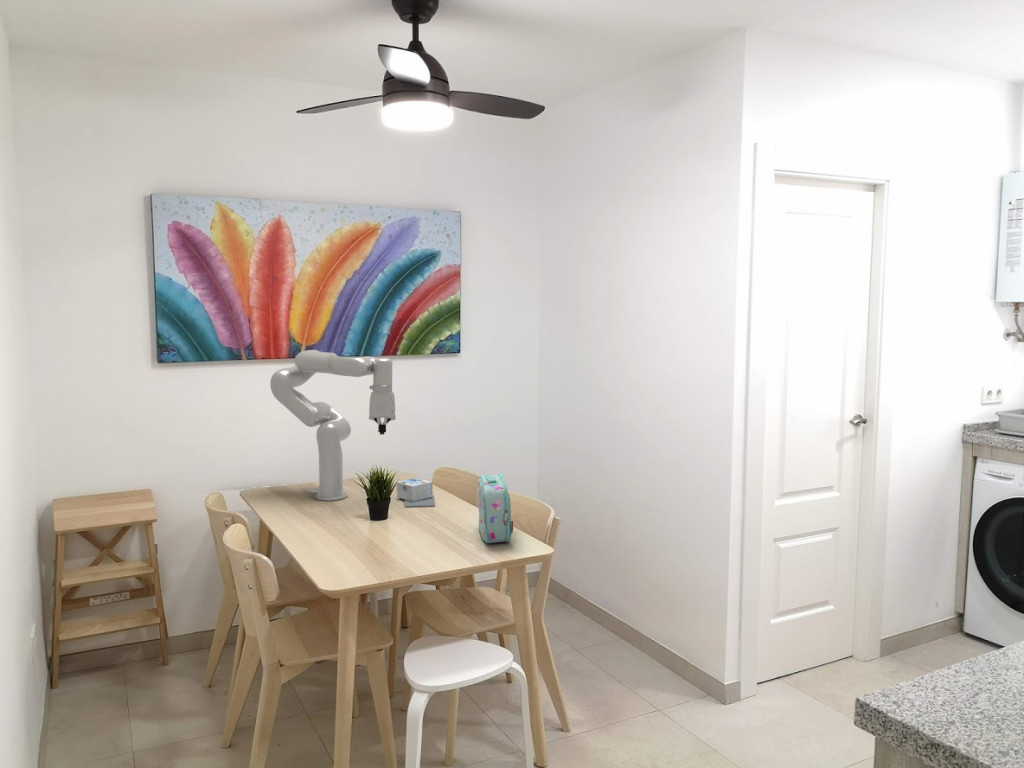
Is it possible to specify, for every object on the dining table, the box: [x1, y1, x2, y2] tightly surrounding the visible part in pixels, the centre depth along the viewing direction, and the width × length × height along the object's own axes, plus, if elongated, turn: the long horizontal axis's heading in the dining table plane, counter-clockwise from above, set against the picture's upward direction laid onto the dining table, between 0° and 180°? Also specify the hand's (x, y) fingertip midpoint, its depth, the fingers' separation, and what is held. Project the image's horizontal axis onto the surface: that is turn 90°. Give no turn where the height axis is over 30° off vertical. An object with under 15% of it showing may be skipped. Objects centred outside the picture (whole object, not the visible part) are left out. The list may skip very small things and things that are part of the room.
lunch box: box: [477, 473, 514, 544], centre depth 271 cm, size 27×10×21 cm, turn 8°
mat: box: [404, 494, 436, 508], centre depth 317 cm, size 12×16×1 cm
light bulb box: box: [396, 477, 434, 502], centre depth 321 cm, size 11×7×11 cm
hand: (382, 434), depth 315 cm, fingers closed
